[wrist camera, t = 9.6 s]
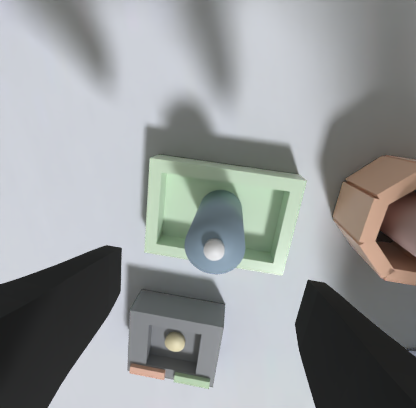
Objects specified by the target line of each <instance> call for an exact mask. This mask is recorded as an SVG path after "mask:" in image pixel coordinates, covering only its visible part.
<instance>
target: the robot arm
mask: <svg viewBox="0 0 416 408" xmlns="http://www.w3.org/2000/svg"><path fill="white" fill-rule="evenodd" d="M121 252H122V248H119V247H113V246H108V245H106V246H103V247H100V248H97V249H94V250H92V251H89V252H87V253H84V254H82V255H80V256H77V257H75V258H72V259H70V260H67V261H65V262H62V263H60V264H57V265H55V266H52V267H49V268H47V269H44V270H41V271H38V272H36V273H33V274H30V275H27V276H25V277H22V278H19V279H16V280H13V281H10V282H6V283H3V284H0V408H48V406H49V404H50V403H51V401H52V399H53V397H54V396H55V394H56V392H57V390H58V389H59V387H60V385H61V384H62V382H63V381H64V379H65V377H66V376H67V374H68V373H69V371H70V370H71V368H72V367H73V366H74V364H75V363H76V361H77V360H78V358H79V357H80V355H81V354H82V353H83V351H84V350H85V348H86V347H87V345H88V344H89V343H90V341H91V340H92V338H93V337H94V335H95V334H96V333H97V331H98V330H99V328H100V327H101V325H102V324H103V322H104V321H105V319H106V318H107V316H108V315H109V313H110V311H111V309H112V308H113V306H114V304H115V302H116V300H117V298H118V296H119V294H120V291H121ZM295 327H296V334H297V341H298V346H299V352H300V355H301V359H302V363H303V366H304V369H305V373H306V376H307V380H308V383H309V387H310V390H311V393H312V397H313V400H314V403H315V407H316V408H416V351H408V350H406V349H405V348H404V347H402V346H401V345H400V344H399V343H397V342H396V341H395V340H393V339H392V338H391V337H390V336H388V335H387V334H386V333H384V332H383V331H382V330H381V329H380V328H378V327H377V326H376V325H375V324H373V323H372V322H371V321H370V320H369V319H368V318H366V317H365V316H364V315H363V314H362V313H360V312H359V311H358V310H357V309H356V308H355V307H353V306H352V305H351V304H350V303H349V302H348V301H346V300H345V299H344V298H343V297H342V296H341V295H339V294H338V293H337V292H336V291H335V290H333V289H332V288H331V287H330V286H328V285H327V284H326V283H323V282H317V281H312V280H308V281H307V284H306V288H305V291H304V295H303V298H302V302H301V305H300V308H299V312H298V315H297V319H296V322H295Z"/></svg>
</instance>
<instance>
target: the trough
mask: <svg viewBox="0 0 416 408" xmlns="http://www.w3.org/2000/svg"><path fill="white" fill-rule="evenodd" d="M306 182H307V181H306V180H305V179H304V178H303V177H302V176H300V175H299V174H292V173H285V172H278V171H271V170H265V169H258V168H251V167H244V166H237V165H230V164H223V163H216V162H209V161H202V160H195V159H188V158H182V157H175V156H168V155H161V154H158V155H156V156H153V157H151V158H150V161H149V179H148V197H147V215H146V233H145V251H144V252H145V253H151V254H157V255H163V256H169V257H175V258H181V259H186V260H189V259H188V257H187V255H186V252H185V247H184V244H185V238H186V235H187V233H188V231H189V229H190V226H191V224H192V222H193V219H194V217H195V215H196V212H197V210H198V208H199V206H200V203H201V201H202V199H203V198H204V197H205V196H206V195H207V194H208V193H210V192H212V191H215V190H226V191H229V192H231V193H233V194H234V195H235V196H236V197H237V198H238V199H239V200H240V202H241V205H242V213H243V225H244V237H245V254H244V257H243V259H242V261H241V262H240V264H239V265H238V266H237V267H236V268H240V269H246V270H251V271H257V272H263V273H269V274H275V275H281V276H283V272H284V269H285V265H286V261H287V257H288V253H289V249H290V245H291V241H292V237H293V233H294V229H295V225H296V222H297V218H298V214H299V210H300V206H301V202H302V198H303V194H304V190H305V186H306Z"/></svg>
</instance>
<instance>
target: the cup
mask: <svg viewBox="0 0 416 408" xmlns="http://www.w3.org/2000/svg"><path fill="white" fill-rule="evenodd" d="M346 181H347V182H343V183H342V186H341V190H340V193H339V196H338V200H337V203H336V206H335V210H334V213H333V216H332V217H333V218H334V219H333V220H334V222H335V223H336V225H337V226H338V228H339V229H340V231H341V232H342V234H343V235H344V236H345V238H346V239H347V241H348V242H349V244H350V245H351V247H352V248H353V249H354V250H355V251H356V252H357V253H358V254H359V255H360V256H361V257H362V258H363V259H364V260H365V261H366V263H367V264H368V265H369V266H370V267H371V268H372V269H373V270H374V271H375V272H376V273H377V274H378V275H379V276H380V277H381V279H382V278H383V279H384V280H385V281H391V282H397V283H403V284H409V285H415V286H416V257H415V256H414V255H412V254H411V253H410V252H408V251H407V250H406V249H404V248H403V247H402V246H400V245H399V244H398V243H396V242H395V241H393V242H391V243H388V242H382V241H376V238H377V235H378V232H379V229H380V227H381V224H382V221H383V219H384V216H385V213H386V211H387V208H388V205H389V204H391V203H393V202H394V201H396V200H398V199H400V198H401V197H403V196H405V195H407V194H408V193H410V192H412V191H414V190H415V189H416V159H411V158H404V157H397V156H389V155H385V156H381V157H379V158H378V159H376V160H374V161H373V162H371V163H370V164H368V165H366V166H365V167H363V168H362V169H360V170H358V171H357V172H355V173H354V174H352V175H350V176H349V177H347V178H346Z"/></svg>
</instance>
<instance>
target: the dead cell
mask: <svg viewBox="0 0 416 408" xmlns="http://www.w3.org/2000/svg"><path fill="white" fill-rule="evenodd" d="M379 230H380V231H381V232H383V233H384V234H385V235H387V236H388V237H389V238H391V239H392V240H393V241H395V242H396V243H398V244H399V245H400V246H402V247H403V248H404V249H406V250H407V251H408V252H410V253H411V254H412V255H414V256H415V257H416V192H413V191H412V192H410V193H408V194H407V195H405V196H403V197H401V198H400V199H398V200H396V201H394V202H393V203H391V204H389V205H388V208H387V211H386V213H385V216H384V219H383V221H382V224H381V227H380V229H379Z"/></svg>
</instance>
